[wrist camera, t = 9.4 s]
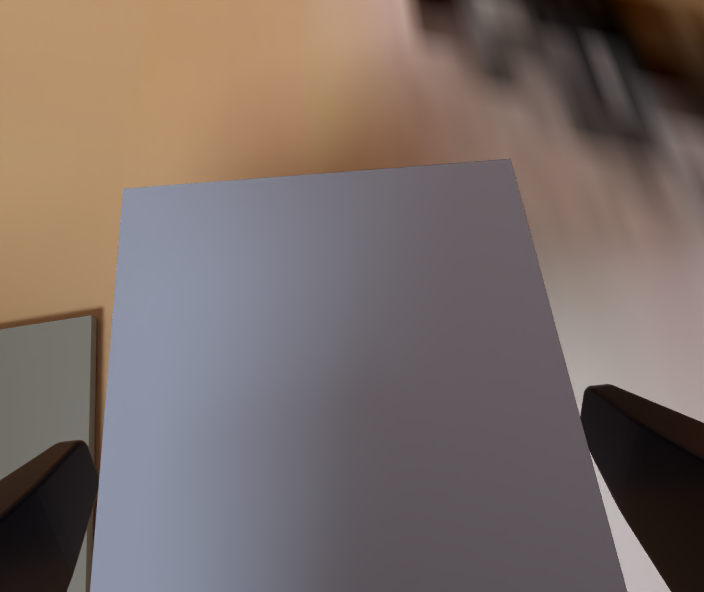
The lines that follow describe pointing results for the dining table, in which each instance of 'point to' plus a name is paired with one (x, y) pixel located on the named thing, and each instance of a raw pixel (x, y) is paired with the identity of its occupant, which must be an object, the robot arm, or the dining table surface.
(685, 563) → the robot arm
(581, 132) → the dining table surface
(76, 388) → the board
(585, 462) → the grey-blue tall block
